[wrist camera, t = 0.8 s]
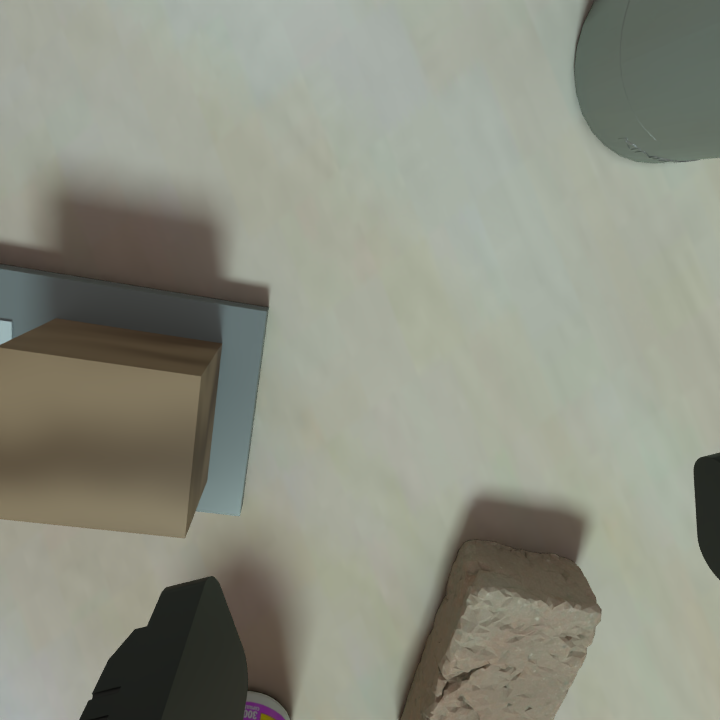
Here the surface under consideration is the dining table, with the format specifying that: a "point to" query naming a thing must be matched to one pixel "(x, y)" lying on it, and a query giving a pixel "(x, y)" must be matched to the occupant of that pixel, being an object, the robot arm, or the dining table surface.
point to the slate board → (168, 317)
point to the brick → (504, 637)
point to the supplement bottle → (263, 708)
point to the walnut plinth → (105, 427)
